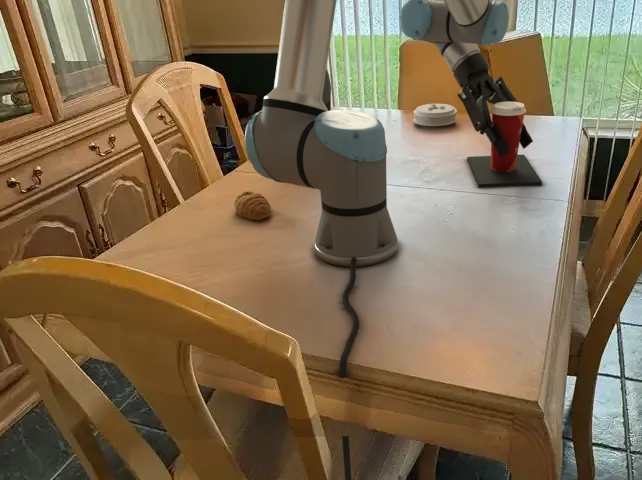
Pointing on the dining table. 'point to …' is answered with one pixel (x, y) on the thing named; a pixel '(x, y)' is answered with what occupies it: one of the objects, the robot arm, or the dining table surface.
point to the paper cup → (507, 133)
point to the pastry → (252, 206)
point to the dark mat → (503, 173)
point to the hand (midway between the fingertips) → (517, 149)
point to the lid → (435, 115)
